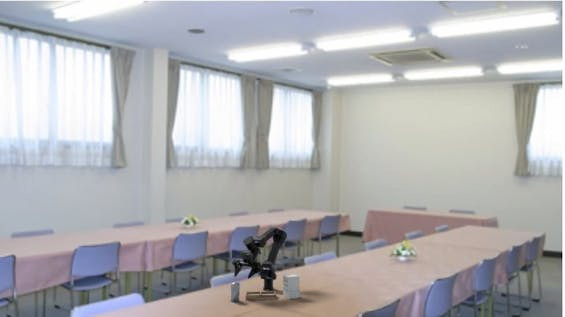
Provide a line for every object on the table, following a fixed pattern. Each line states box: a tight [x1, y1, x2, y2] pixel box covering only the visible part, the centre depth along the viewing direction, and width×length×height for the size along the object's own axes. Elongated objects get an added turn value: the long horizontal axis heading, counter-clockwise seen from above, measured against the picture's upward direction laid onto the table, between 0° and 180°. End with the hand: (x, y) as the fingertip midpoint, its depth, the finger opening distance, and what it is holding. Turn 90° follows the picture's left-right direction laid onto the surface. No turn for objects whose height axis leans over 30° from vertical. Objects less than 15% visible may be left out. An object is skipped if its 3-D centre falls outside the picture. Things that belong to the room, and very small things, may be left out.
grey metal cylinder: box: [230, 281, 241, 303], centre depth 286 cm, size 5×5×10 cm
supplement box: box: [282, 273, 300, 300], centre depth 296 cm, size 7×7×13 cm
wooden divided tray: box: [245, 290, 277, 301], centre depth 294 cm, size 9×17×2 cm, turn 94°
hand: (241, 277), depth 292 cm, fingers open, 9 cm apart
